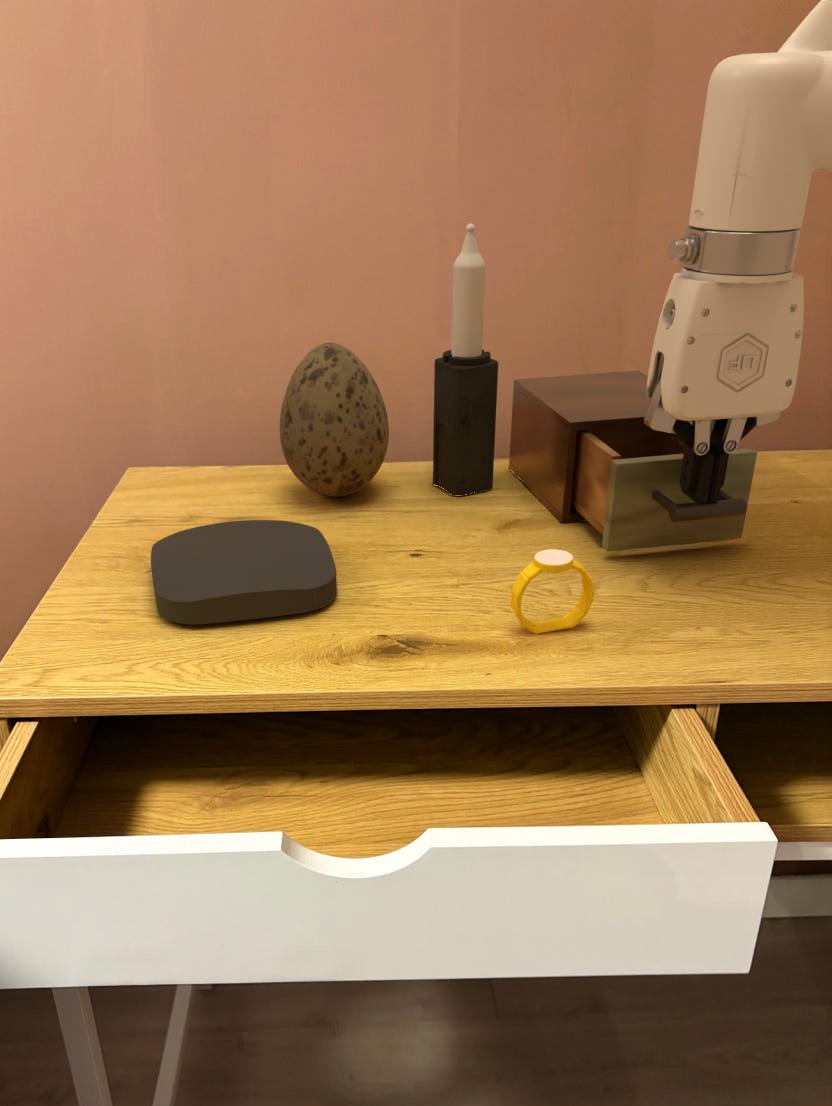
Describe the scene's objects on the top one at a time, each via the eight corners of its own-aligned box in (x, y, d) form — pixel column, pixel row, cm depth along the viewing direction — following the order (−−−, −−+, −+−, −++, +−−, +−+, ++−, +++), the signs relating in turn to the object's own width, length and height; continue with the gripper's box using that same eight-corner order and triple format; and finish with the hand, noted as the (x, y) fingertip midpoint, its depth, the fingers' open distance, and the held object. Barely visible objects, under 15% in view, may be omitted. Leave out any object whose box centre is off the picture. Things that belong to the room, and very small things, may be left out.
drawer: (772, 561, 80) (791, 471, 76) (631, 576, 78) (643, 484, 75) (666, 482, 97) (676, 405, 93) (547, 493, 95) (553, 414, 91)
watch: (580, 615, 75) (587, 544, 72) (594, 632, 72) (602, 559, 69) (505, 624, 74) (509, 552, 71) (517, 641, 71) (522, 568, 69)
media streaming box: (156, 634, 74) (152, 599, 72) (153, 557, 86) (149, 526, 85) (346, 613, 76) (345, 578, 75) (315, 541, 89) (314, 510, 87)
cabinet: (697, 510, 93) (712, 411, 88) (561, 523, 91) (569, 422, 86) (628, 458, 106) (638, 370, 101) (508, 469, 104) (513, 379, 100)
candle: (428, 483, 101) (431, 223, 89) (469, 474, 103) (478, 219, 91) (454, 498, 97) (462, 228, 85) (497, 489, 99) (510, 223, 87)
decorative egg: (266, 488, 101) (255, 340, 94) (357, 469, 105) (354, 326, 98) (312, 521, 93) (304, 362, 85) (409, 499, 97) (409, 346, 90)
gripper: (664, 266, 65) (630, 522, 74) (867, 257, 67) (810, 506, 76) (618, 251, 72) (592, 488, 80) (805, 243, 74) (759, 475, 83)
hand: (698, 496), depth 78 cm, fingers closed
